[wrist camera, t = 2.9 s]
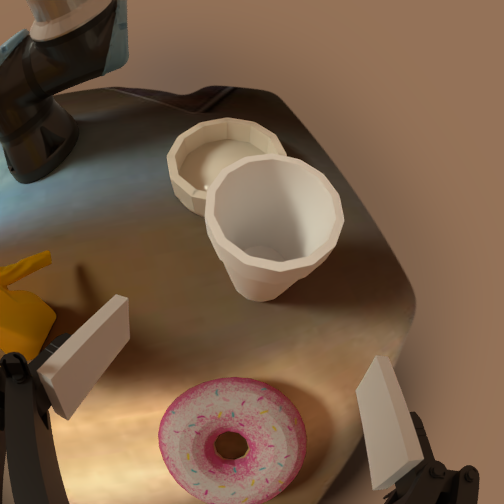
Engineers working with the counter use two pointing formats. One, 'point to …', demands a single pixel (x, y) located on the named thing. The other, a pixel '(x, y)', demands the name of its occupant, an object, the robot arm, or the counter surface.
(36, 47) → the robot arm
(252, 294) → the foam cup
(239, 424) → the donut
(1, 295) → the figure statuette
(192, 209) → the dish
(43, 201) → the counter surface
